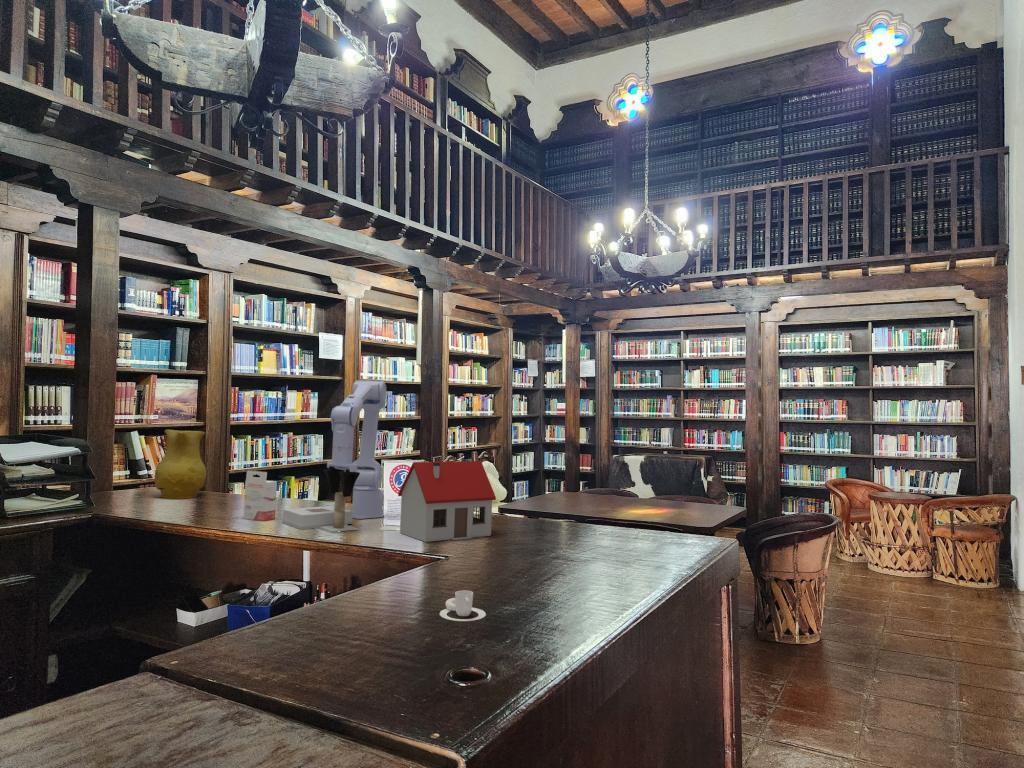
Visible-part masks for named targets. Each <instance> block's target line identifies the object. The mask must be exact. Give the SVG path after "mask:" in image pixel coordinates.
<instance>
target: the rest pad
mask: <svg viewBox="0 0 1024 768" xmlns="http://www.w3.org/2000/svg"><path fill="white" fill-rule="evenodd" d="M333 526H334V525H333ZM333 526H323V527H320V530H322V529H323V530H322V531H325V530H326V532H328V531H330V532H329V533H331V532H337V533H339V532H338V531H346V530H356V531H359V527H358V528H357V527H354V526H352V525H345V524H344V528H341V529H336V528H333ZM346 532H347V531H346Z"/></svg>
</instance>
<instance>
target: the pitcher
mask: <svg viewBox="0 0 1024 768" xmlns="http://www.w3.org/2000/svg"><path fill="white" fill-rule="evenodd" d="M164 433H165V434H166V439H167V444H166V450H165V453H164V455H163V458H162V459H161V460H160V462H159V463H158V464H157V466H156V468H155V471H154V479H153V480H154V484H155V485H154V486H155V488H156V489H157V490H158V491H160V493H161V495H160V496H159V498H163V499H168V500H169V499H170V500H183V499H193V498H197V497H198V494H197V493H198V491H200V490H201V489H202V488H203V487H204V485H206V484H205V481H206V479H207V468H206V466H205V463H204V462H203V460H202V458H201V452H200V447H201V446H200V445H201V444H200V443H201V441H202V440H201V439H202V438H203V436H205V435H206V432H205V431H201V430H176V429H175V430H174V429H165V430H164Z"/></svg>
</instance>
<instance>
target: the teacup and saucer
mask: <svg viewBox="0 0 1024 768" xmlns="http://www.w3.org/2000/svg"><path fill="white" fill-rule="evenodd" d="M473 599H474V592H473V591H472V590H466V589H465V590H464V589H463V590H457V591H456V590H455V593H454V597H452V598H448V599H447V600H446V601H445V607H446V608H445V609H442V610H440V612H439V616H440V617H441V618H442V619H445V620H448V621H453V622H473V621H478V620H481V619H484V618H485V617H486V616H487V614H486V612H485V611H484V610H483V609H480V608H476V607H473V601H474V600H473ZM472 611H473V612H475V613H477V614H478V616H476V617H472V618H467V619H466V618H465V619H462V618H461V619H460V618H454V617H450V616H449V615H447V614H448V613H450V612H456V615H457V616H459V617H468V616H470V615H471V612H472Z"/></svg>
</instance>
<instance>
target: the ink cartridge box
mask: <svg viewBox="0 0 1024 768" xmlns="http://www.w3.org/2000/svg"><path fill="white" fill-rule="evenodd" d="M256 475H257V476H259V477H256ZM267 475H268V472H267V471H257V470H256V471H255V470H247V471H246V475H245V476H246V478H245V481H244V482H245V484H244V486H245V487H244V503H243V504H244V505H243V519H244V520H250V521H251V520H252V521H253V520H254V521H259V522H260V521H261V522H265V521H271V520H275V519H276V510H277V509H276V508H277V507H276V506H277V490H278V489H277V486H278V484H277V483H278V481H277V480H275V481H274V480H267V477H268V476H267Z"/></svg>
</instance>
